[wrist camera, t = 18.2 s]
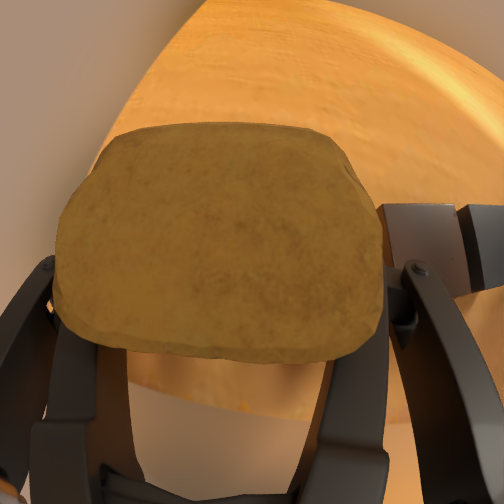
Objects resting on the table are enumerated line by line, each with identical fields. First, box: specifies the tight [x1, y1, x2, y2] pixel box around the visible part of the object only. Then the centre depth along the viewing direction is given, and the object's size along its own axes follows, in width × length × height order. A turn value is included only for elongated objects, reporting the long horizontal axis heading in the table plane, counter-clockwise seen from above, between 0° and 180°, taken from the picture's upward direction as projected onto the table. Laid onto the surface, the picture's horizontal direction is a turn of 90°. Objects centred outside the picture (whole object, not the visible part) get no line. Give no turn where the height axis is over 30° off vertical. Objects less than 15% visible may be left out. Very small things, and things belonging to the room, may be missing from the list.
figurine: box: [52, 122, 384, 365], centre depth 13 cm, size 7×6×15 cm
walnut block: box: [376, 204, 471, 298], centre depth 17 cm, size 6×6×6 cm
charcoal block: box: [456, 204, 504, 293], centre depth 17 cm, size 6×6×6 cm
